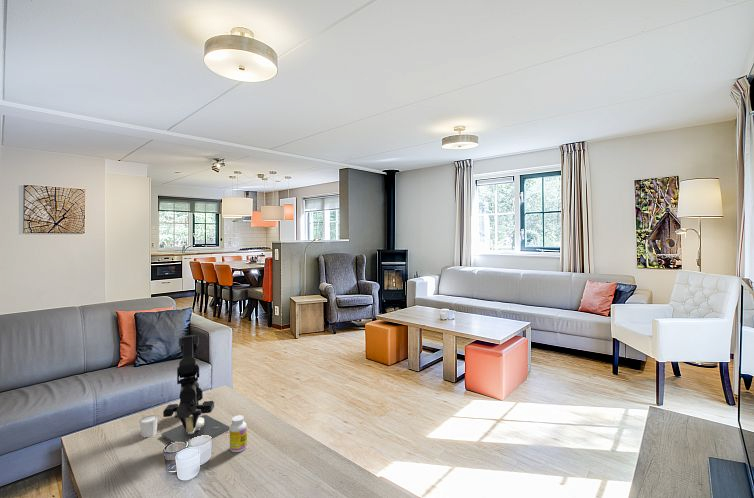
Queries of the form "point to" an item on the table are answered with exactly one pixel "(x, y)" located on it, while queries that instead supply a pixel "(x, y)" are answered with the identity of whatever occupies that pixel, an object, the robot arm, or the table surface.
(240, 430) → the supplement bottle
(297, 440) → the table surface
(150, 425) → the shot glass
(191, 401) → the robot arm
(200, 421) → the beige rounded piece
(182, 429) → the base
